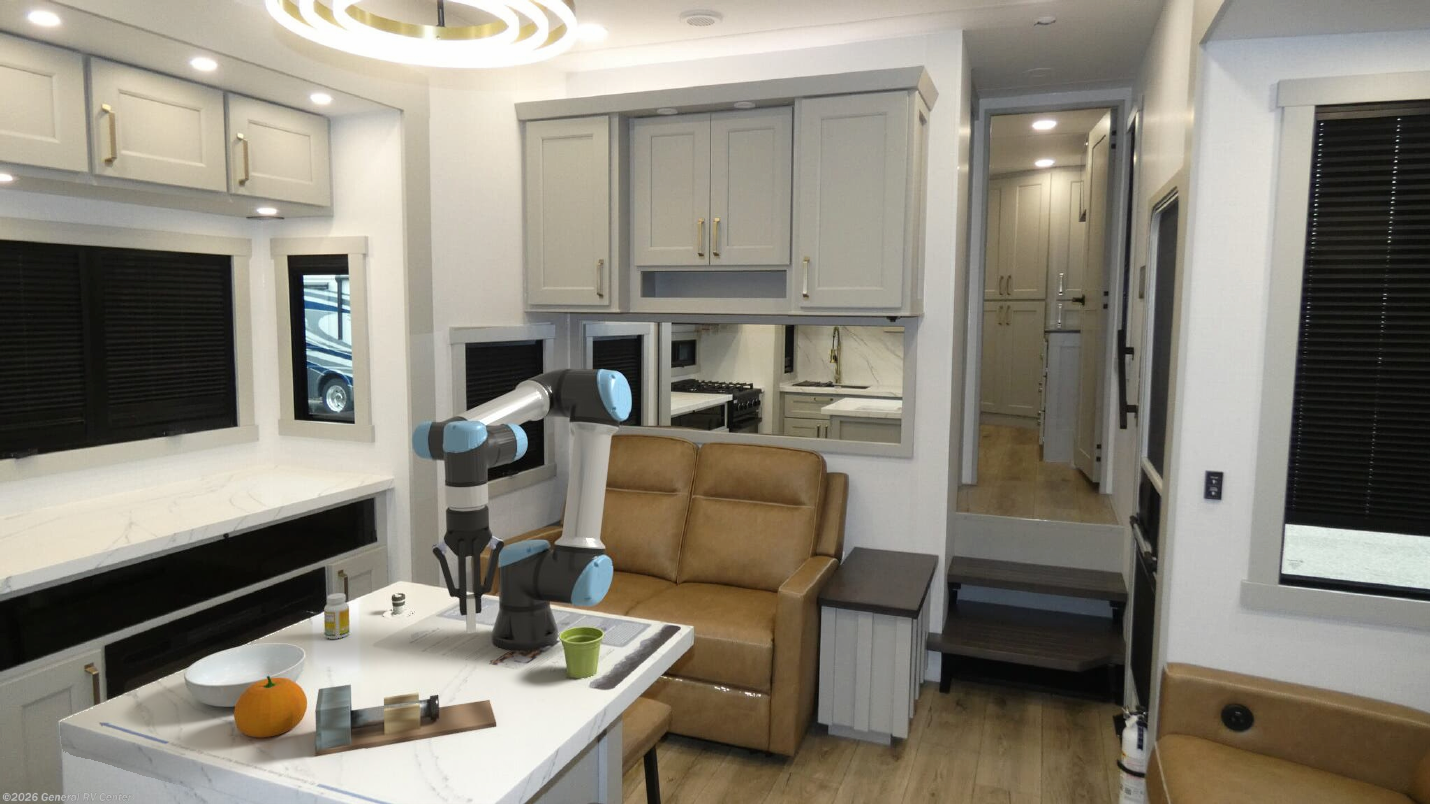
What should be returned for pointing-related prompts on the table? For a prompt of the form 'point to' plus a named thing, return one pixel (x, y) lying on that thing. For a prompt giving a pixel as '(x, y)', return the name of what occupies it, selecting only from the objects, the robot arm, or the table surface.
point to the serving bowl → (241, 671)
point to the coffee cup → (398, 603)
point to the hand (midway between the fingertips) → (471, 630)
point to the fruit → (270, 707)
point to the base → (390, 722)
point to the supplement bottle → (336, 616)
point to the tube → (376, 714)
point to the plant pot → (581, 650)
